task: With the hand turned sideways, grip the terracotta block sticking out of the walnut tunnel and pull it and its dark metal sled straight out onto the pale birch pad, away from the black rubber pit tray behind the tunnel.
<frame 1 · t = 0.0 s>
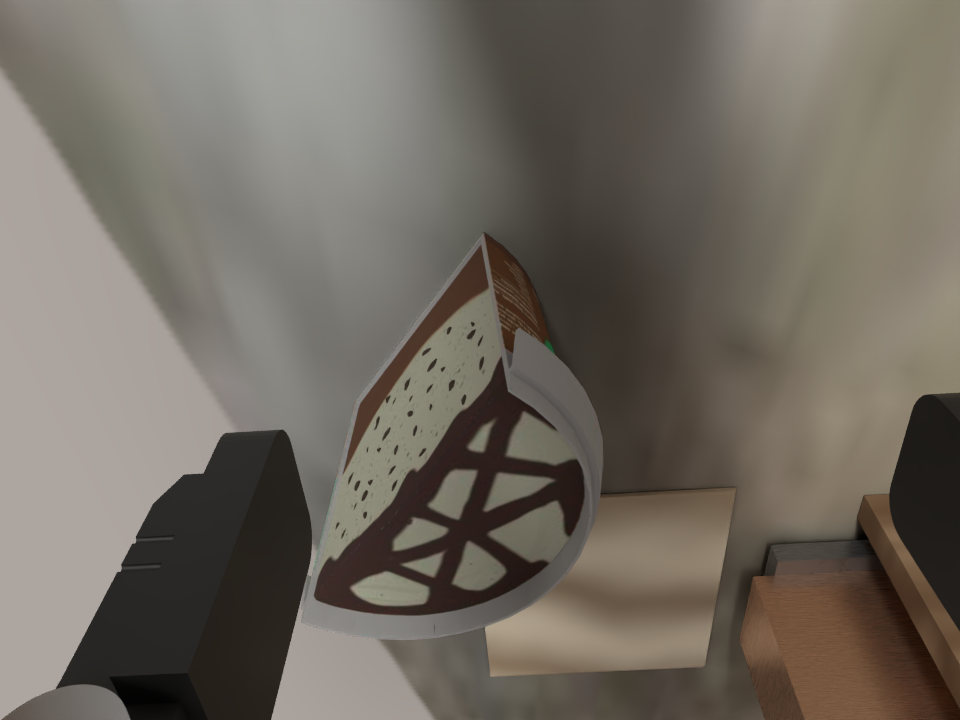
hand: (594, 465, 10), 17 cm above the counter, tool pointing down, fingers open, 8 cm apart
sled: (947, 688, 33), point 6 cm above the counter, slide at 0.0 cm
tunnel: (938, 573, 38), on the counter
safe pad: (599, 590, 39), on the counter
food container: (480, 356, 30), on the counter
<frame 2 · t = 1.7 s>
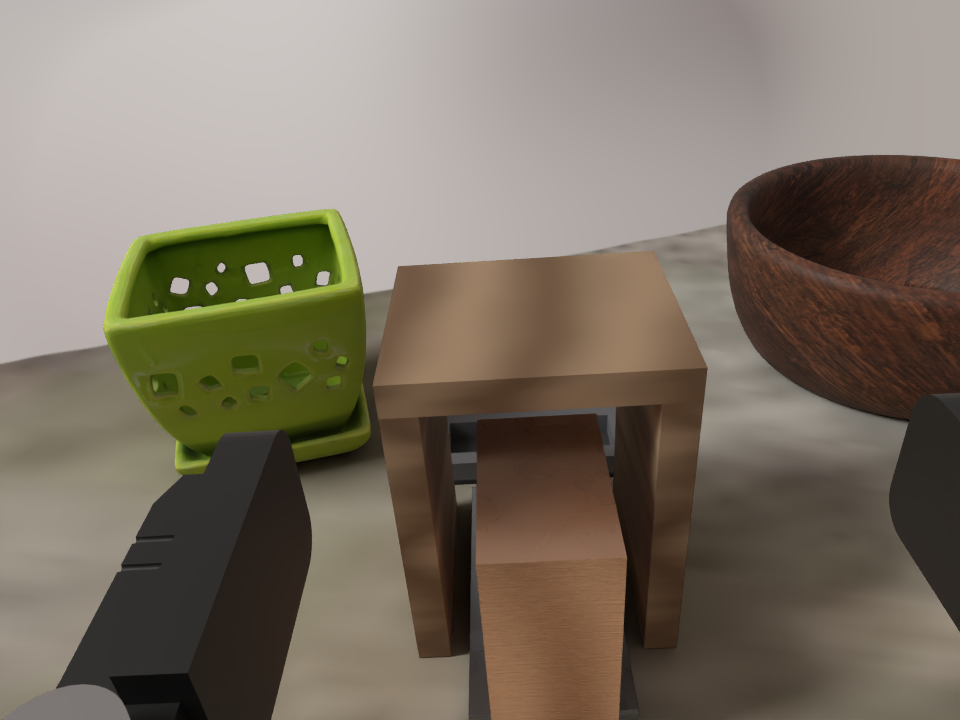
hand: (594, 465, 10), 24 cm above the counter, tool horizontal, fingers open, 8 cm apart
sled: (540, 520, 34), point 6 cm above the counter, slide at 0.0 cm
tunnel: (540, 570, 40), on the counter
flower pot 2: (280, 427, 52), on the counter
wooden bowl: (890, 347, 56), on the counter
pit tray: (530, 453, 48), on the counter
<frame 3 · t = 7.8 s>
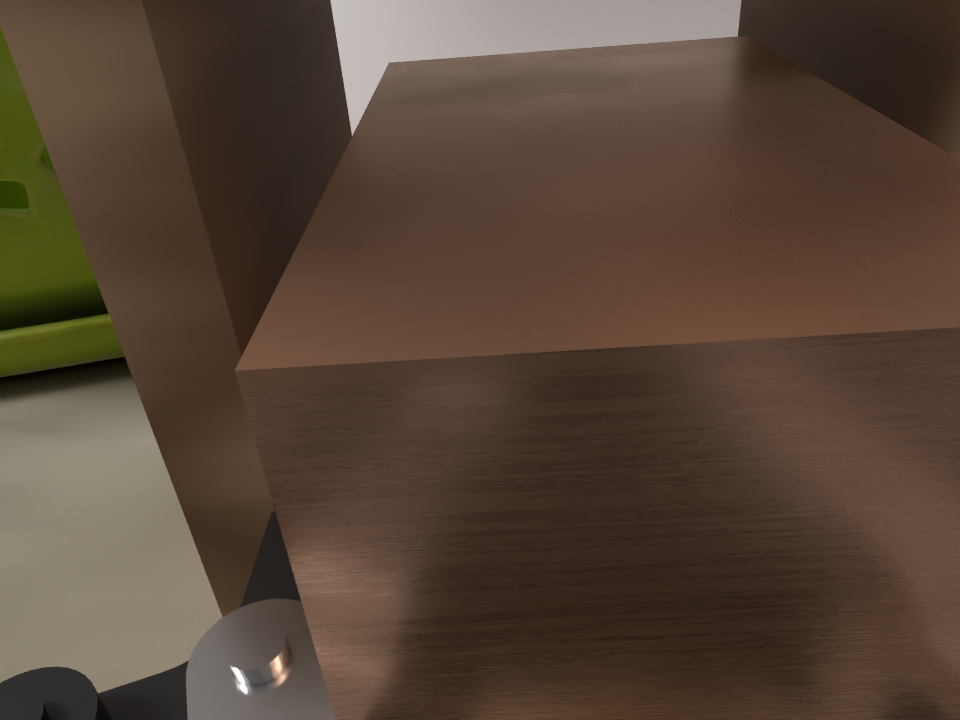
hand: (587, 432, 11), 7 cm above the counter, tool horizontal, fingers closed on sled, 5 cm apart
sled: (572, 392, 13), point 6 cm above the counter, slide at 0.0 cm, touching gripper
tunnel: (563, 537, 18), on the counter
flower pot 2: (115, 313, 31), on the counter
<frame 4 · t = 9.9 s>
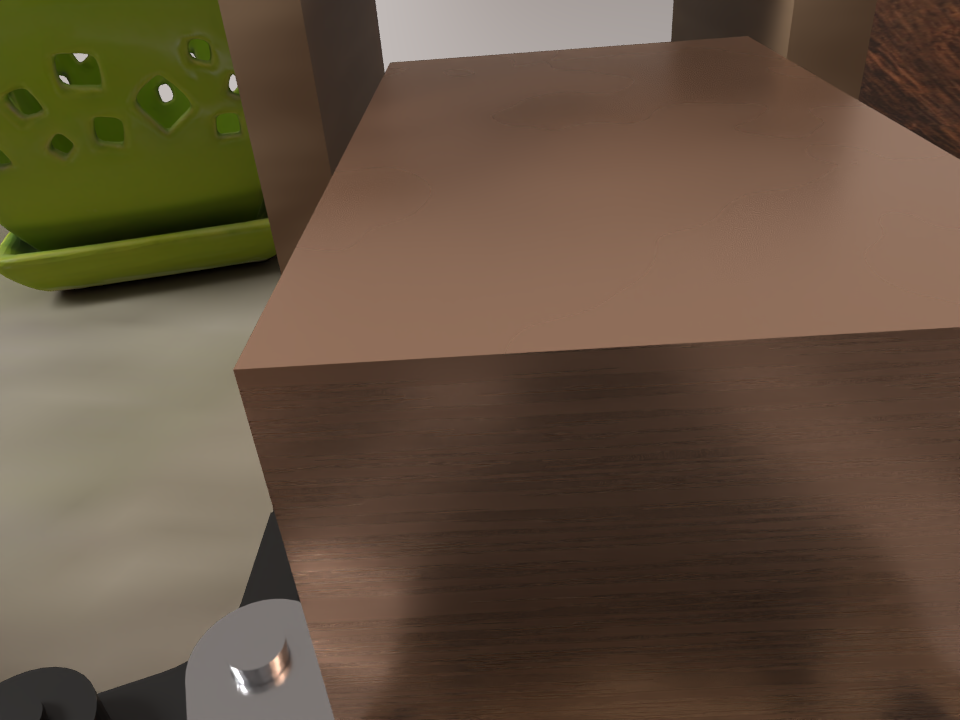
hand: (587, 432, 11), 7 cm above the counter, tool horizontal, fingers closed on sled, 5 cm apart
sled: (573, 392, 13), point 6 cm above the counter, slide at 6.9 cm, touching gripper
tunnel: (544, 379, 24), on the counter
flower pot 2: (174, 244, 37), on the counter
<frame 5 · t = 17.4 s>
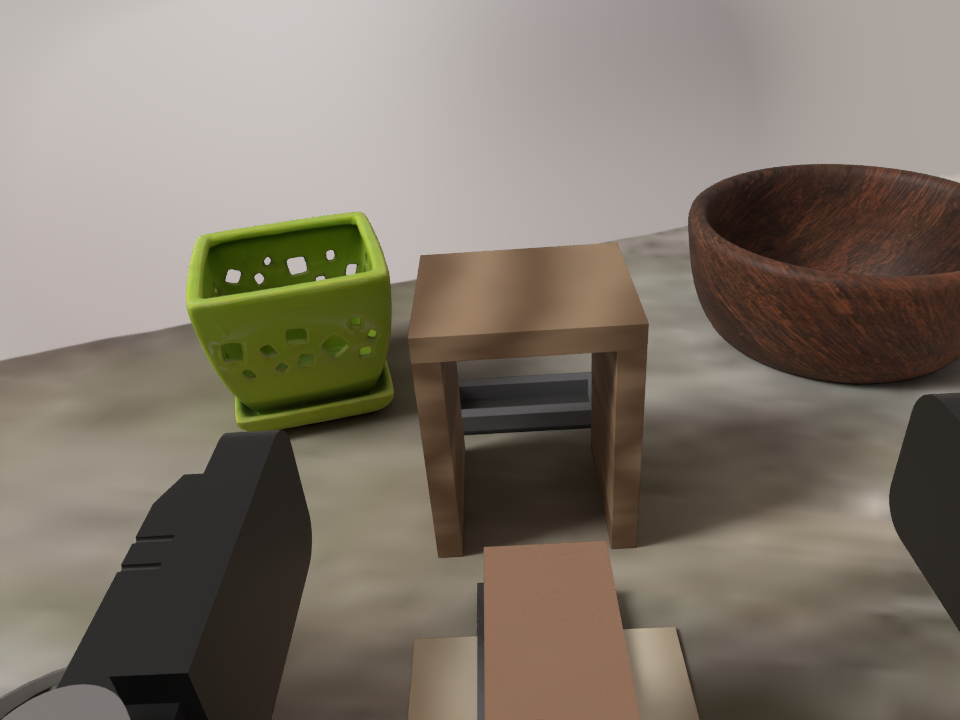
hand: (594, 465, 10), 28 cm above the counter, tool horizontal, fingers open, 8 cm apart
sled: (548, 641, 34), point 6 cm above the counter, slide at 13.5 cm
tunnel: (532, 495, 50), on the counter
flower pot 2: (316, 393, 63), on the counter
wooden bowl: (828, 325, 66), on the counter
pit tray: (524, 411, 58), on the counter
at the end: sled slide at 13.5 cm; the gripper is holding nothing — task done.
